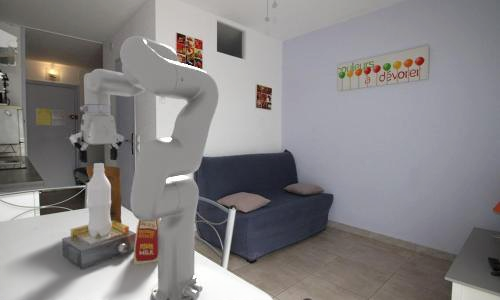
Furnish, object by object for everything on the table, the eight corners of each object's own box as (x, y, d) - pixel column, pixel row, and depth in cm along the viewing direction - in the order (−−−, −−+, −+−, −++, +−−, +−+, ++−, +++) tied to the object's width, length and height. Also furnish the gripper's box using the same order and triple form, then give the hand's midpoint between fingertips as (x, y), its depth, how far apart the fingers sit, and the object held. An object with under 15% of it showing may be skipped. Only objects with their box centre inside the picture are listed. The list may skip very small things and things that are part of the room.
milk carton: (133, 264, 85) (132, 203, 84) (137, 251, 94) (137, 196, 93) (163, 261, 88) (162, 202, 86) (164, 249, 97) (164, 195, 95)
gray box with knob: (140, 251, 94) (140, 228, 94) (84, 273, 79) (84, 246, 79) (115, 238, 105) (114, 217, 104) (61, 255, 90) (60, 231, 89)
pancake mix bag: (114, 236, 107) (113, 168, 105) (86, 227, 116) (84, 164, 114) (129, 230, 113) (128, 166, 111) (101, 222, 122) (99, 162, 120)
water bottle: (104, 238, 89) (103, 165, 87) (83, 238, 89) (81, 164, 87) (115, 230, 96) (114, 162, 94) (96, 230, 96) (94, 162, 94)
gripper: (73, 108, 80) (75, 164, 81) (128, 112, 94) (129, 159, 95) (64, 109, 85) (66, 162, 86) (117, 113, 99) (118, 158, 100)
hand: (99, 161), depth 90 cm, fingers open, 9 cm apart
